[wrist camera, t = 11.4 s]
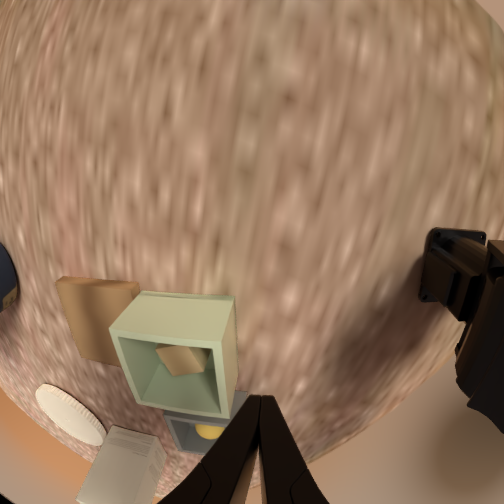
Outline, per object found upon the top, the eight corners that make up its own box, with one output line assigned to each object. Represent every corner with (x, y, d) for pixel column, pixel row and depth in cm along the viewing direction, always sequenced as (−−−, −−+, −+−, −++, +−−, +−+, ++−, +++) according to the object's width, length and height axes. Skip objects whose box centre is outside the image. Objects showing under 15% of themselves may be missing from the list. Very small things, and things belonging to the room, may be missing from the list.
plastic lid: (102, 443, 36) (97, 452, 34) (42, 400, 35) (36, 408, 32) (116, 420, 32) (109, 432, 29) (43, 366, 30) (34, 376, 28)
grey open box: (246, 391, 26) (241, 425, 21) (248, 430, 28) (244, 459, 24) (175, 384, 26) (162, 414, 22) (187, 423, 29) (178, 450, 25)
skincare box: (124, 443, 34) (93, 512, 19) (110, 421, 32) (71, 497, 17) (170, 455, 33) (144, 533, 19) (159, 435, 31) (126, 523, 16)
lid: (140, 279, 23) (130, 290, 21) (159, 360, 26) (152, 373, 24) (66, 274, 24) (54, 282, 22) (89, 347, 27) (81, 357, 25)
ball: (225, 408, 26) (220, 431, 23) (228, 424, 27) (223, 445, 24) (196, 404, 26) (189, 427, 23) (200, 420, 27) (194, 442, 24)
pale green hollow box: (234, 296, 22) (221, 341, 16) (238, 370, 25) (229, 418, 19) (142, 290, 23) (108, 328, 17) (158, 361, 25) (136, 403, 20)
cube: (196, 321, 22) (186, 343, 19) (211, 348, 23) (203, 371, 20) (167, 328, 23) (154, 349, 20) (182, 354, 24) (172, 376, 21)
